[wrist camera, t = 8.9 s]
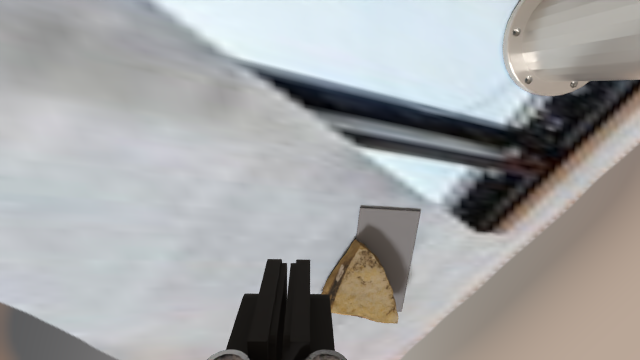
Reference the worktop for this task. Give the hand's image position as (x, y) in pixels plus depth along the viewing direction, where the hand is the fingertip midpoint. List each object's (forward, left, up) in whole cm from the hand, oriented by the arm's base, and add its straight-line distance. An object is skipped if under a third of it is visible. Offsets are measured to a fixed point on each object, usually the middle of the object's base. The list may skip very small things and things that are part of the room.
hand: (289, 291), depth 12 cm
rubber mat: (-12, +15, -26) cm, 32 cm away
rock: (-5, +16, -24) cm, 29 cm away
